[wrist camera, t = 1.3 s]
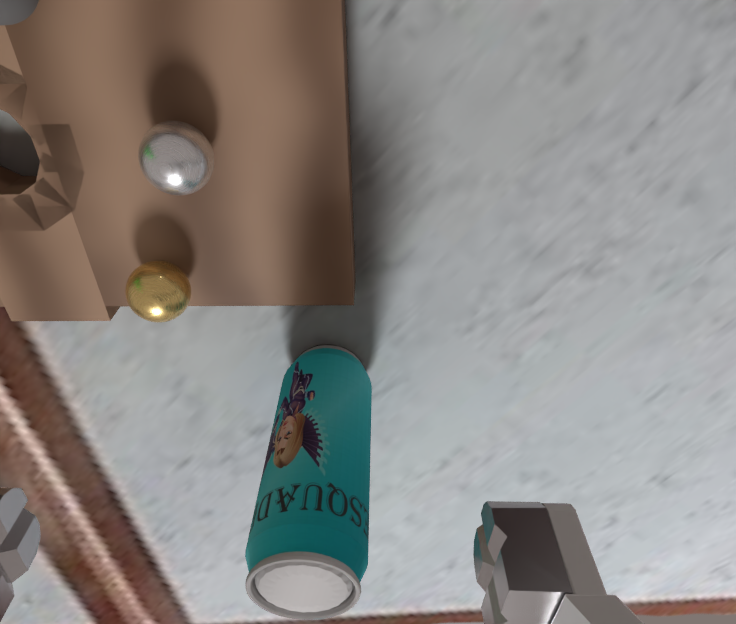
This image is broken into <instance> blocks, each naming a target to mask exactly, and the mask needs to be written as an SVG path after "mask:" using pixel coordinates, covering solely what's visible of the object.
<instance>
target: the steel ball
mask: <svg viewBox="0 0 736 624" xmlns="http://www.w3.org/2000/svg"><path fill="white" fill-rule="evenodd" d="M138 161H139V165H140V168H141V170H142V173H143V174H144V176H145V178H146V179H147V180H148V181H149V182H150V183H151V184H152V185H153V186H154V187H155V188H157V189H158V190H160V191H162V192H164V193H167V194H171V195H179V196H181V195H188V194H192V193H194V192H196V191H198V190H200V189H201V188H202V187H203V186H204V185H205V184H206V183H207V182H208V181H209V179H210V177H211V175H212V173H213V169H214V154H213V150H212V147H211V145H210V143H209V141H208V140H207V138H206V137H205V136H204V134H203V133H202V132H200V131H199V130H198V129H197V128H195V127H194V126H192V125H190V124H188V123H184V122H180V121H165V122H161V123H159V124H156V125H155V126H153V127H152V128H150V129H149V130H148V131H147V132H146V133H145V135H144V136H143V138H142V140H141V142H140V145H139V149H138Z"/></svg>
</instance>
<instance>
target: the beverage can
mask: <svg viewBox="0 0 736 624" xmlns="http://www.w3.org/2000/svg"><path fill="white" fill-rule="evenodd" d="M371 393H372V388H371V382H370V379H369V377H368V374H367V372H366V370H365V369H364V367H363V365H362V363H361V362H360V360H359V359H358V358H357V357H356V356H355V355H354V354H353V353H352V352H350V351H348V350H347V349H344V348H342V347H338V346H333V345H322V346H316V347H313V348H310V349H308V350H307V351H305V352H304V353H302V354H301V355H300V356H299V357H298V358H297V359H296V360H295V362H294V363H293V364H292V365H291V366H290V367H289V369H288V370H287V372H286V374H285V375H284V379H283V382H282V387H281V392H280V396H279V401H278V405H277V410H276V414H275V419H274V424H273V428H272V433H271V437H270V442H269V446H268V451H267V456H266V460H265V465H264V469H263V474H262V478H261V483H260V488H259V492H258V497H257V501H256V506H255V511H254V515H253V520H252V524H251V529H250V533H249V538H248V543H247V547H246V555H245V557H246V561H247V565H248V570H249V574H248V576H247V579H246V591H247V594H248V596H249V597H250V599H251V600H252V601H253V602H254V603H255V604H257V605H258V606H259V607H261V608H262V609H264V610H266V611H268V612H270V613H273V614H276V615H279V616H283V617H286V618H292V619H301V620H317V619H325V618H330V617H334V616H337V615H340V614H343V613H345V612H347V611H348V610H350V609H351V608H352V607H353V606H354V605H355V604H356V603H357V602H358V600H359V597H360V593H361V586H360V581H361V579H362V577H363V575H364V573H365V571H366V569H367V565H368V535H369V488H370V441H371Z"/></svg>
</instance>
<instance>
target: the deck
mask: <svg viewBox="0 0 736 624" xmlns="http://www.w3.org/2000/svg"><path fill="white" fill-rule="evenodd" d="M0 109H1V110H3V111H5V112H7V113H9V114H10V115H11V116H12V117H13V118H14V119H15V120H16V121H17V122H18V123H19V124H20V125H21V126H22V128H23V129H24V130H25V131H26V132H27V133H28V134H29V135H30V136H31V138H32V141H33V144H34V146H35V149H36V152H37V155H38V157H39V160H40V164H39V169H38V174H37V176H21V175H19V174H17V173H15V172H13V171H10V170H8V169H6V168H4V167H2V166H0V307H5V308H6V311H7V313H8V315H9V317H10V319H11V321H110V320H111V319H112V318H113V316H114V315H115V313H116V312H117V310H118V309H119V307H120V306H129V304H128V302H127V299H126V294H125V288H126V283H127V280H128V278H129V276H130V275H131V273H132V272H133V271H134V270H135V269H136V268H137V267H139V266H140V265H142V264H144V263H147V262H150V261H166V262H169V263H172V264H174V265H176V266H177V267H179V268H180V269H181V270H182V271H183V272H184V273H185V274H186V276H187V277H188V279H189V282H190V285H191V299H190V302H189V304H188V306H276V305H354V297H355V283H356V278H355V252H354V226H353V200H352V174H351V147H350V121H349V95H348V69H347V42H346V16H345V0H39V2H38V4H37V7H36V9H35V10H34V12H33V13H32V14H31V15H30V16H29V17H28V18H27V19H25V20H24V21H21V22H19V23H17V24H13V25H0ZM165 121H180V122H184V123H188V124H190V125H192V126H194V127H195V128H197V129H198V130H199V131H200V132H202V133H203V134H204V136H205V137H206V138H207V140H208V141H209V143H210V145H211V147H212V150H213V154H214V169H213V173H212V175H211V177H210V179H209V181H208V182H207V183H206V184H205V185H204V186H203V187H202V188H201V189H200V190H198V191H196V192H194V193H192V194H188V195H181V196H179V195H171V194H167V193H164V192H162V191H160V190H158V189H157V188H155V187H154V186H153V185H152V184H151V183H150V182H149V181H148V180H147V179H146V178H145V176H144V174H143V173H142V170H141V168H140V165H139V161H138V149H139V145H140V142H141V140H142V138H143V136H144V135H145V133H146V132H147V131H148V130H149V129H150V128H152V127H153V126H155V125H156V124H159V123H161V122H165Z"/></svg>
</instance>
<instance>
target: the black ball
mask: <svg viewBox="0 0 736 624" xmlns="http://www.w3.org/2000/svg"><path fill="white" fill-rule="evenodd" d="M38 2H39V0H0V25H13V24H17V23H19V22H21V21H24V20H25V19H27V18H28V17H29V16H30V15H31V14H32V13H33V12H34V10H35V9H36V7H37V4H38Z"/></svg>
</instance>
